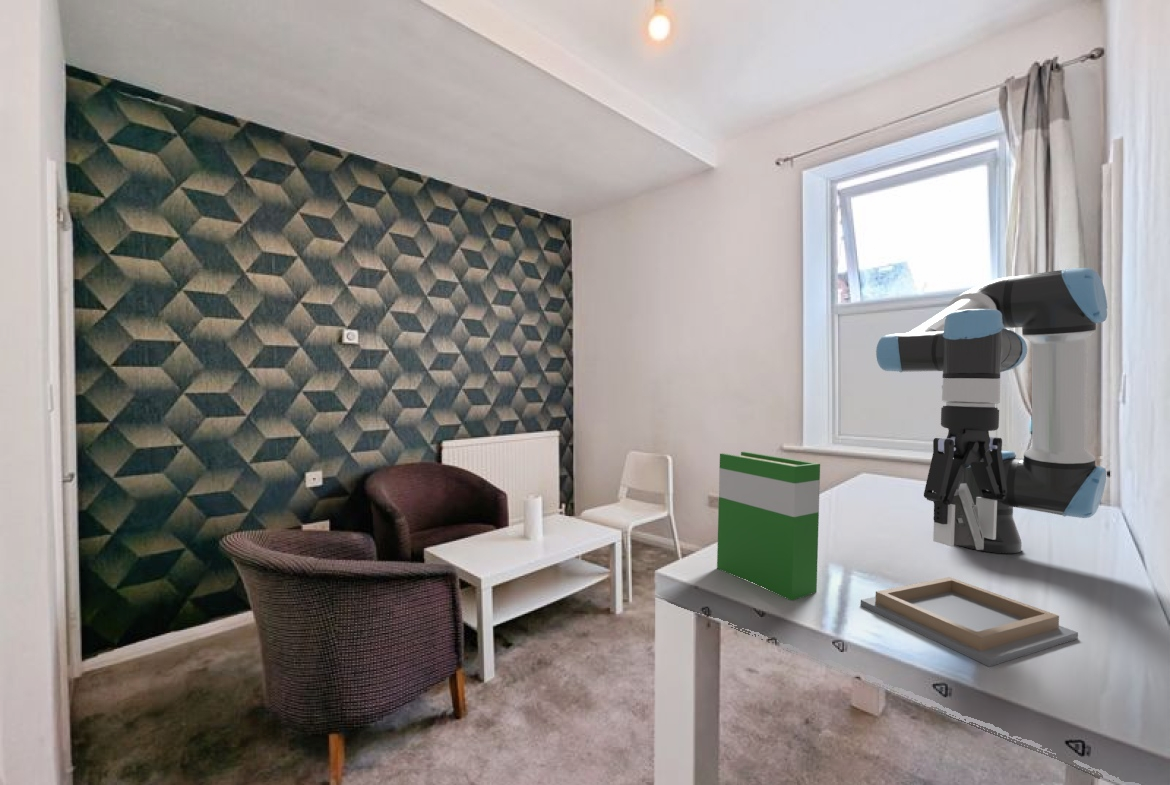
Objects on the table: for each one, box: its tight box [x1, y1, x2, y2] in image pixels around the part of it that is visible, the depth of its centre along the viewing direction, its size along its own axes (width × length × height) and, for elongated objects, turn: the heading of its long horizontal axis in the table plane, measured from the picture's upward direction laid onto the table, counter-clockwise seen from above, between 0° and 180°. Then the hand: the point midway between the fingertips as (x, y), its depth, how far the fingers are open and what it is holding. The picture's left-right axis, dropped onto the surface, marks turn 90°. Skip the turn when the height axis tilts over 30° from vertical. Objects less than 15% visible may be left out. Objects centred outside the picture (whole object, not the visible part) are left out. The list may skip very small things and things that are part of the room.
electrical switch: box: [951, 483, 984, 551], centre depth 82 cm, size 9×5×9 cm, turn 141°
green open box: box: [716, 451, 821, 601], centre depth 98 cm, size 18×7×24 cm, turn 32°
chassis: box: [860, 576, 1079, 667], centre depth 82 cm, size 22×20×3 cm
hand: (964, 540), depth 82 cm, fingers closed on electrical switch, 10 cm apart
